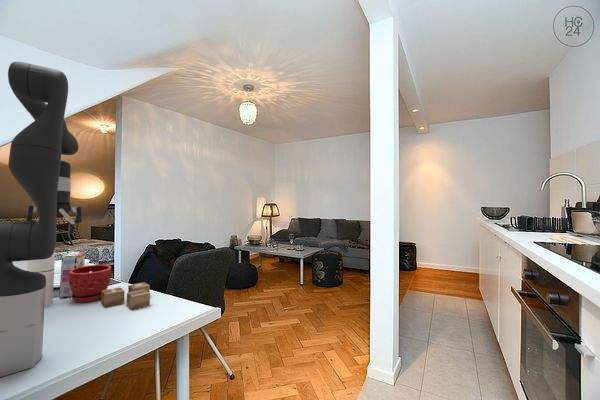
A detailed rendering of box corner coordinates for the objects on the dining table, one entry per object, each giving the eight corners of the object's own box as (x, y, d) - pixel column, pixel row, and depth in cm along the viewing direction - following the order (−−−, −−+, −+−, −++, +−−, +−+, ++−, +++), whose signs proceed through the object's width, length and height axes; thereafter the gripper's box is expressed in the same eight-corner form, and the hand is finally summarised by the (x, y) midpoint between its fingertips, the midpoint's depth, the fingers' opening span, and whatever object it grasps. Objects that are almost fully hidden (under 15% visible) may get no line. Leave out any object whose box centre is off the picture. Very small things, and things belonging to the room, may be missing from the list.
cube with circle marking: (149, 297, 107) (149, 284, 107) (132, 301, 102) (132, 288, 102) (144, 294, 111) (144, 281, 111) (127, 297, 106) (128, 284, 106)
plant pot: (67, 297, 104) (69, 267, 104) (108, 291, 113) (109, 263, 113) (67, 307, 94) (69, 274, 95) (112, 299, 103) (113, 269, 103)
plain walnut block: (149, 306, 98) (150, 293, 98) (131, 311, 93) (131, 296, 93) (144, 302, 102) (144, 289, 102) (126, 306, 97) (126, 292, 97)
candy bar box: (74, 297, 105) (76, 255, 105) (58, 298, 103) (60, 256, 103) (84, 288, 115) (85, 251, 115) (69, 289, 113) (71, 251, 113)
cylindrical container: (19, 309, 92) (23, 237, 92) (34, 301, 98) (37, 235, 99) (44, 307, 94) (48, 237, 94) (57, 300, 100) (60, 235, 101)
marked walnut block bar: (124, 304, 99) (124, 290, 99) (104, 308, 95) (105, 293, 95) (119, 299, 103) (120, 286, 103) (100, 303, 99) (101, 289, 99)
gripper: (28, 188, 86) (26, 237, 86) (84, 190, 97) (82, 235, 96) (27, 188, 91) (24, 235, 90) (80, 191, 102) (78, 233, 101)
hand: (54, 235), depth 93 cm, fingers open, 8 cm apart
